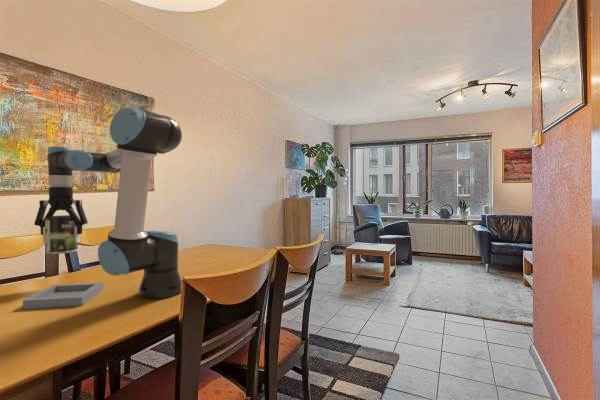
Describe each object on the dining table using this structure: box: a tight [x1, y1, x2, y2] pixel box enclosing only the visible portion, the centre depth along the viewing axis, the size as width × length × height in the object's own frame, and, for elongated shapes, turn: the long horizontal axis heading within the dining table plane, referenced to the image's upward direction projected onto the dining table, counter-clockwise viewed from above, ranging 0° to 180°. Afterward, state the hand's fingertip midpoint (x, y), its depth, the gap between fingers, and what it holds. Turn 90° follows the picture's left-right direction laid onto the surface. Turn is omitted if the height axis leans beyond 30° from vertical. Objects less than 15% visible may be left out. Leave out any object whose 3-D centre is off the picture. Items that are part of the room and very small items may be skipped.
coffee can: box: [44, 214, 79, 255], centre depth 123 cm, size 10×10×14 cm
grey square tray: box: [22, 281, 104, 310], centre depth 110 cm, size 17×17×3 cm
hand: (62, 242), depth 123 cm, fingers closed on coffee can, 10 cm apart
